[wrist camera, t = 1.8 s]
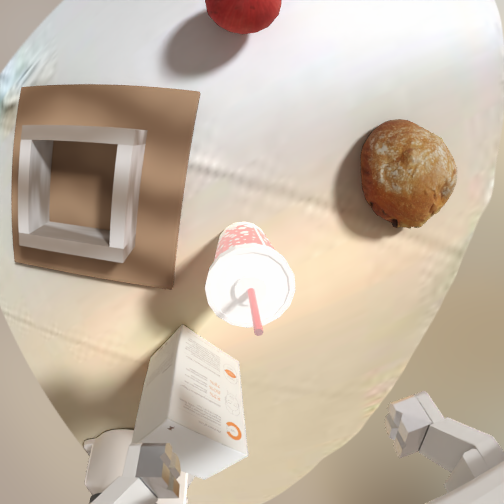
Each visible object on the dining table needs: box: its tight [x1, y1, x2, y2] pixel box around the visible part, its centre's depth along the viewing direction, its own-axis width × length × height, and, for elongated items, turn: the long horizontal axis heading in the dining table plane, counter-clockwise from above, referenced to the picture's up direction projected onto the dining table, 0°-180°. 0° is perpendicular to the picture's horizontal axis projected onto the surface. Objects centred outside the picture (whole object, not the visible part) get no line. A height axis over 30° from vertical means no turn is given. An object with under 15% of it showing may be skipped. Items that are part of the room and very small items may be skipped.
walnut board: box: [12, 84, 200, 290], centre depth 24 cm, size 18×18×5 cm
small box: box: [132, 325, 248, 480], centre depth 28 cm, size 8×6×13 cm
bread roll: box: [361, 119, 457, 228], centre depth 27 cm, size 10×10×8 cm
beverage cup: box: [205, 222, 295, 336], centre depth 23 cm, size 6×6×14 cm
